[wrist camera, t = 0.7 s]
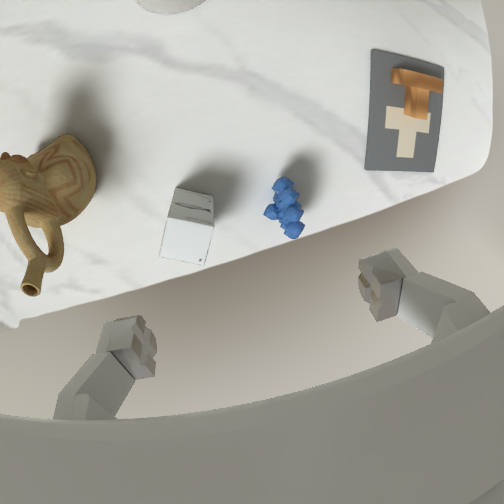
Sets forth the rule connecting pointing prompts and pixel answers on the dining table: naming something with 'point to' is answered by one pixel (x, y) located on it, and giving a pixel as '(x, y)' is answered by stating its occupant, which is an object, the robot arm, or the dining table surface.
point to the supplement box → (188, 227)
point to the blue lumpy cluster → (286, 208)
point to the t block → (416, 90)
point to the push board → (400, 119)
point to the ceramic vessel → (45, 200)
